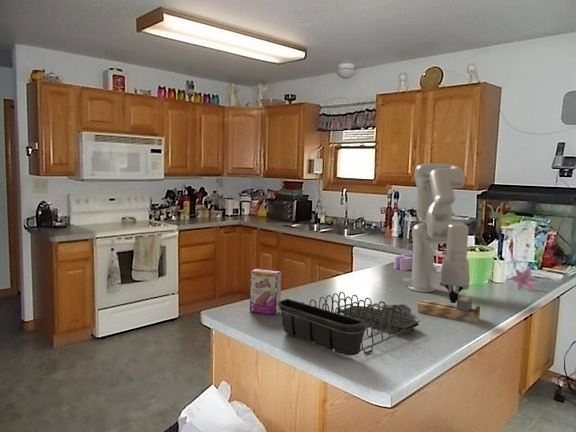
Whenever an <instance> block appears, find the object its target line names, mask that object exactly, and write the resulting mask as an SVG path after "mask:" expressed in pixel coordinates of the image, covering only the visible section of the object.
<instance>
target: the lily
mask: <svg viewBox="0 0 576 432" xmlns="http://www.w3.org/2000/svg"><path fill="white" fill-rule="evenodd" d="M514 271H515V275H514V276H511V277H509V280H510V281H511V282H514V283H517V290H518V291H521V290H522V289H524V288H527V289H528V290H530V291H531V292H533V293H534V292H535V286H534V285H533V283H536V282H538V281H539V279H536V278H534V277H532V269H531V268H530V267H529V268H526V269H525V270H524V271H523V272H522V271H521V270H519V269H517V268H515V269H514Z"/></svg>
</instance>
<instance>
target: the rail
mask: <svg viewBox="0 0 576 432" xmlns="http://www.w3.org/2000/svg"><path fill="white" fill-rule="evenodd" d="M417 313H420V314H425V315H430V316H435V317H436V316H437V317H442V318H447V319H451V320H457V321H463V322H467V323H474V324H477V323H478V322H479V320H480V314H481V305H477V306H476V307H475V308H471V309H470V310H469V311H464V310H458V309H457V305H455V304H449V303H444V302H436V301H431V300H424V299H421V300H420V302H418V303H417Z"/></svg>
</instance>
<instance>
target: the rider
mask: <svg viewBox="0 0 576 432" xmlns="http://www.w3.org/2000/svg"><path fill="white" fill-rule="evenodd" d="M456 306H457V309H458V310H464V311H469V310H470V309H471V308H472V306H473V298H470V297H468V296H460V297H458V300H457V301H456Z"/></svg>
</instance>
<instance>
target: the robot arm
mask: <svg viewBox="0 0 576 432" xmlns="http://www.w3.org/2000/svg"><path fill="white" fill-rule="evenodd" d="M414 181H415V182H414V183H415V185H416V189H417V190H416V191H417V193H416V194H417V195H416V217H417V219H418V220H420V221H425V222H421V223H420V222H419V223H416V224H415V225H414V226H412V229H411V236H412V254H413V264H412V269H411V277H410V278H408V277H403V278H402V281H403V283H405V284H408V285H407V289H409V290H411V291H415V292H419V293H430V292H431V293H432V292H435V291H436V287H435V286H434V285H433V279H434V278H433V276H434V275H433V274H434V260H435V259H434V256H435V254H434V253H435V252H434V250H433V249H432V247H431V246H430V245H432V244H435V245H436V244H437V245H438V244H439V245H440V244H444V245H445V244H446V246H445V249H446V250H444V251H443V250H442V251H441V255H442V256H444V258H443V259H442V263H441V268H440V276H439V281H440V282H439V285H440V286H442V287H443V288H446V290H447V291H448V292H449V296H448V300H449V301H450V304H452V303H453V304H457V300H458V299H459V294H460V292H461V291H464V290H466V291H467V290H469V289H470V285H469V283H470V263H469V260H468V259H467V258H468V257H467V256H468V241H469V226H468V225H467V224H466V223H463V222H461V221H458V220H453V218H452V217H453V208H452V204H454V202H455V201H456V196H455V191H454V189H456V188H457V189H459V188H460V189H461V188H463V187H464V185H465V183H466V175H465V172H464V171H463V170H462V169H461V168H460V167H458V166H457V165H454V164H450V163H449V164H448V163H421V164H419V165H417V166H416V167H415V169H414ZM454 286H455V289H454Z"/></svg>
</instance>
